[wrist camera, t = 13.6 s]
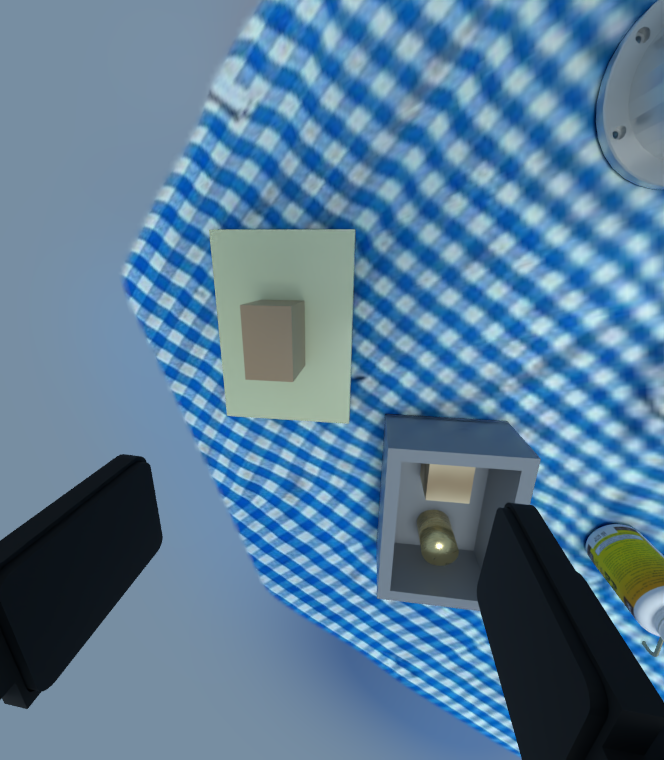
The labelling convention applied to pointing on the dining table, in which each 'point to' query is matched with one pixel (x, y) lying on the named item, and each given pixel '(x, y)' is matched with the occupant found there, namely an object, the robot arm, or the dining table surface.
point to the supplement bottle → (631, 572)
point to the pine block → (447, 482)
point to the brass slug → (437, 538)
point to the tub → (469, 521)
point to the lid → (285, 321)
